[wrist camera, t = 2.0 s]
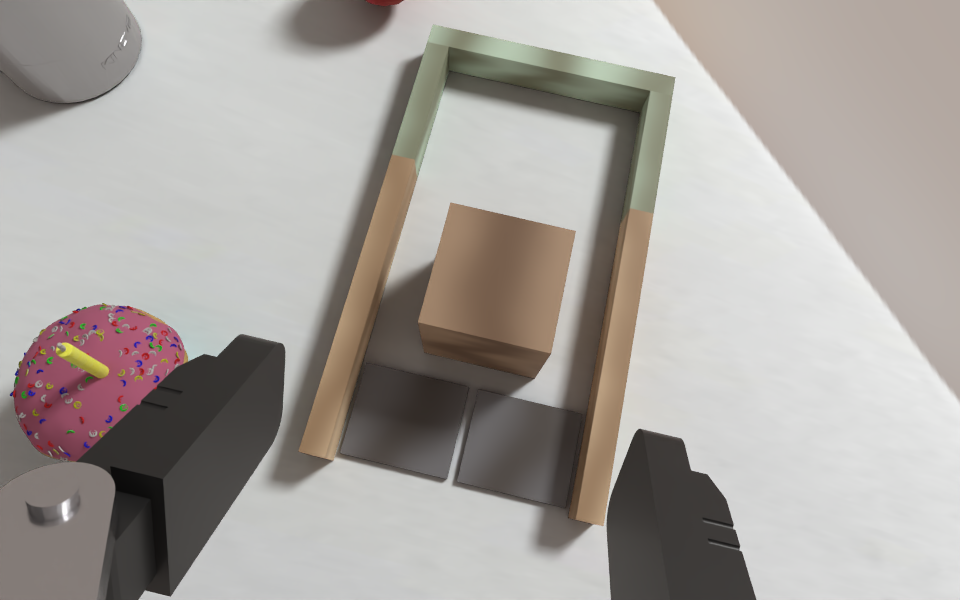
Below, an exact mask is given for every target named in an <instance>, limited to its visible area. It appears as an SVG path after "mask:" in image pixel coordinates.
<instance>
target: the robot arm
mask: <svg viewBox="0 0 960 600" xmlns="http://www.w3.org/2000/svg"><path fill="white" fill-rule="evenodd" d="M141 42H142V37H141V31H140V27H139V25H138V23H137V21H136V19H135V17H134V16H133V14H132V13H131V11H130V10H129V8H128V7H127V5H126V4H125V2H124V1H123V0H0V71H2V72H3V73H5V74H6V75H7V76H8V77H9V78H10V79H11V80H12V81H13V82H14V83H15V84H16V85H17V86H18V87H20V88H21V89H22V90H23V91H25V92H26V93H27V94H29V95H31V96H33V97H35V98H37V99H40V100H44V101H48V102H53V103H72V102H80V101H84V100H87V99H91V98H94V97H97V96H99V95H101V94H103V93H105V92H107V91H109V90H110V89H112V88H113V87H114V86H116V85H117V84H119V83H120V82H121V81H122V80H123V79H124V78H125V77H126V76H127V75H128V74H129V73H130V71H131V70H132V68H133V67H134V65H135V63H136V62H137V59H138V57H139V54H140V51H141ZM284 371H285V348H284V345H283V344H282V343H278V342H273V341H269V340H265V339H261V338H256V337H252V336H248V335H244V334H241V335H239V336H237V337H236V338H235V339H234V340H233V341H232V342H231V343H230V344H229V345H228V346H227V347H226V348H225V349H224V350H223V351H222V352H221V353H220V354H219V355H218V356H217V357H214V356H210V355H206V354H203V355H201V356H199V357H197V358H195V359H193V360H191V361H188V362H186V363H184V364H182V365H180V366H178V367H176V368H175V369H174V370H173V371H172V372H171V373H170V374H169V375H168V376H166V377H165V378H164V379H163V380H162V381H161V382H160V383H159V384H158V385H157V388H156V389H153V390H152V391H151V392H149V393H148V394H147V395H146V396H145V397H144V398H143V399H142V400H141V403H140V405H138V404H137V405H136V406H135V407H134V408H132V409H131V410H130V411H129V412H128V413H127V414H126V415H125V416H124V417H123V418H122V419H121V420H120V421H119V422H118V423H117V424H115V425H114V426H113V427H112V428H111V429H110V430H109V431H108V432H107V433H106V434H105V435H104V436H103V437H102V438H101V439H100V440H99V441H97V442H96V443H95V444H94V445H93V446H92V447H91V448H90V449H89V450H88V451H87V452H86V453H85V454H84V455H83V456H82V457H80V458H79V459H78V460H77V461H76V462H63V463H56V464H51V465H46V466H42V467H39V468H36V469H33V470H31V471H29V472H26V473H24V474H22V475H20V476H18V477H17V478H15V479H13V480H12V481H10V482H9V483H8V484H6V485H5V486H4V487H3V488H2V489H0V600H138V599H139V598H140V597H141V595H142V594H143V592H144V591H145V590H146V591H150V592H154V593H158V594H162V595H166V596H170V597H171V595H172V594H173V592H174V591H175V589H176V588H177V586H178V585H179V583H180V582H181V580H182V579H183V577H184V576H185V574H186V573H187V571H188V570H189V568H190V567H191V565H192V564H193V562H194V561H195V559H196V558H197V556H198V555H199V553H200V552H201V550H202V549H203V547H204V546H205V544H206V543H207V541H208V540H209V538H210V537H211V535H212V534H213V532H214V531H215V529H216V528H217V526H218V525H219V523H220V522H221V520H222V519H223V517H224V516H225V514H226V513H227V511H228V510H229V508H230V507H231V505H232V504H233V502H234V501H235V499H236V498H237V496H238V495H239V493H240V492H241V490H242V489H243V487H244V486H245V484H246V483H247V481H248V480H249V478H250V477H251V475H252V474H253V472H254V471H255V469H256V468H257V466H258V465H259V463H260V462H261V460H262V459H263V457H264V456H265V454H266V453H267V451H268V450H269V448H270V447H271V445H272V443H273V441H274V439H275V437H276V435H277V432H278V429H279V426H280V422H281V418H282V410H283V391H284ZM733 525H734V524H733V521H732V518H731V514H730V511H729V508H728V504H727V501H726V499H725V497H724V496H723V495H722V493H721V492H720V491H719V489H718V488H717V487H716V485H715V484H714V483H713V481H712V480H711V479H710V477H709V476H708V475H707V474H703V473H699V472H695V471H691V469H690V465H689V461H688V457H687V453H686V448H685V445H684V442H683V440H682V439H681V438H677V437H672V436H668V435H664V434H660V433H655V432H651V431H647V430H643V429H638V430H637V431H636V433H635V435H634V437H633V439H632V442H631V444H630V447H629V449H628V452H627V455H626V457H625V460H624V462H623V465H622V468H621V470H620V473H619V475H618V478H617V481H616V483H615V486H614V488H613V491H612V494H611V498H610V502H609V507H608V514H607V542H608V558H609V574H610V590H611V600H756V597H755V594H754V591H753V587H752V584H751V581H750V577H749V574H748V571H747V567H746V564H745V561H744V557H743V554H742V552H741V551H739V548H740V544H739V541H738V537H737V534H736V531H735V530H734V529H733Z"/></svg>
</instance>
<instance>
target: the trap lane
mask: <svg viewBox="0 0 960 600" xmlns="http://www.w3.org/2000/svg"><path fill="white" fill-rule="evenodd" d="M449 71H454V72H458V73H463V74H467V75H472V76H476V77H481V78H485V79H490V80H494V81H499V82H503V83H508V84H513V85H517V86H522V87H526V88H531V89H535V90H540V91H544V92H549V93H553V94H558V95H562V96H567V97H572V98H576V99H581V100H585V101H590V102H594V103H599V104H603V105H608V106H612V107H617V108H621V109H626V110H631V111H635V112H640V116H639V122H638V127H637V133H636V139H635V144H634V150H633V155H632V161H631V167H630V172H629V178H628V184H627V189H626V195H625V200H624V206H623V212H622V217H621V223H620V229H619V234H618V240H617V245H616V251H615V257H614V262H613V268H612V274H611V279H610V285H609V290H608V296H607V302H606V307H605V313H604V318H603V324H602V330H601V335H600V341H599V347H598V352H597V358H596V363H595V369H594V375H593V380H592V386H591V392H590V397H589V403H588V408H587V414H586V420H585V425H584V431H583V437H582V442H581V448H580V453H579V459H578V465H577V470H576V476H575V482H574V487H573V493H572V498H571V504H570V510H569V515H568V518H570V519H574V520H578V521H582V522H586V523H590V524H595V525H601V526H603V525H604V519H605V512H606V506H607V500H608V494H609V487H610V481H611V475H612V469H613V463H614V456H615V450H616V444H617V438H618V431H619V425H620V419H621V413H622V406H623V400H624V394H625V388H626V382H627V375H628V369H629V363H630V357H631V350H632V344H633V338H634V332H635V325H636V319H637V313H638V307H639V301H640V294H641V288H642V282H643V276H644V269H645V263H646V257H647V251H648V245H649V238H650V232H651V226H652V220H653V213H654V207H655V201H656V195H657V188H658V182H659V176H660V170H661V164H662V157H663V151H664V145H665V139H666V132H667V126H668V120H669V114H670V107H671V101H672V95H673V89H674V83H675V77H671V76H667V75H662V74H658V73H653V72H648V71H644V70H639V69H635V68H630V67H626V66H621V65H616V64H612V63H607V62H603V61H598V60H593V59H589V58H584V57H580V56H575V55H570V54H566V53H561V52H557V51H552V50H548V49H543V48H538V47H534V46H529V45H525V44H520V43H515V42H511V41H506V40H502V39H497V38H492V37H488V36H483V35H479V34H474V33H470V32H465V31H460V30H456V29H451V28H447V27H442V26H437V25H433V26H432V29H431V32H430V35H429V39H428V42H427V45H426V48H425V51H424V54H423V58H422V61H421V64H420V67H419V70H418V74H417V77H416V80H415V83H414V86H413V89H412V93H411V96H410V99H409V102H408V105H407V108H406V112H405V115H404V118H403V121H402V124H401V127H400V131H399V134H398V137H397V140H396V143H395V146H394V150H393V153H392V156H391V159H390V162H389V166H388V169H387V172H386V175H385V178H384V181H383V185H382V188H381V191H380V194H379V197H378V200H377V204H376V207H375V210H374V213H373V216H372V219H371V223H370V226H369V229H368V232H367V235H366V239H365V242H364V245H363V248H362V251H361V254H360V258H359V261H358V264H357V267H356V270H355V273H354V277H353V280H352V283H351V286H350V289H349V292H348V296H347V299H346V302H345V305H344V308H343V311H342V315H341V318H340V321H339V324H338V327H337V331H336V334H335V337H334V340H333V343H332V346H331V350H330V353H329V356H328V359H327V362H326V365H325V369H324V372H323V375H322V378H321V381H320V384H319V388H318V391H317V394H316V397H315V400H314V404H313V407H312V410H311V413H310V416H309V419H308V423H307V426H306V429H305V432H304V435H303V438H302V442H301V445H300V448H299V451H298V452H301V453H305V454H308V455H312V456H316V457H320V458H324V459H328V460H332V461H333V460H334V457H335V454H336V450H337V447H338V443H339V440H340V437H341V433H342V430H343V427H344V423H345V420H346V417H347V413H348V410H349V406H350V403H351V400H352V396H353V393H354V390H355V386H356V383H357V379H358V376H359V373H360V369H361V366H362V363H363V359H364V356H365V352H366V349H367V346H368V342H369V339H370V336H371V332H372V329H373V326H374V322H375V319H376V315H377V312H378V309H379V305H380V302H381V299H382V295H383V292H384V288H385V285H386V282H387V278H388V275H389V272H390V268H391V265H392V261H393V258H394V255H395V251H396V248H397V245H398V241H399V238H400V235H401V231H402V228H403V224H404V221H405V218H406V214H407V211H408V208H409V204H410V201H411V197H412V194H413V191H414V187H415V184H416V181H417V177H418V174H419V170H420V167H421V164H422V160H423V157H424V154H425V150H426V147H427V144H428V140H429V137H430V133H431V130H432V127H433V123H434V120H435V117H436V113H437V110H438V106H439V103H440V100H441V96H442V93H443V90H444V86H445V83H446V79H447V76H448V73H449ZM468 389H469V387H467V386H463V385H459V384H454V383H450V382H446V381H442V380H438V379H433V378H429V377H425V376H421V375H417V374H412V373H408V372H404V371H400V370H396V369H391V368H387V367H383V366H379V365H375V364H370V363H366V366H365V370H364V373H363V377H362V380H361V383H360V387H359V390H358V393H357V397H356V400H355V404H354V407H353V410H352V414H351V417H350V421H349V424H348V427H347V431H346V434H345V438H344V441H343V444H342V448H341V451H340V453H341V454H345V455H350V456H354V457H358V458H362V459H366V460H370V461H374V462H378V463H382V464H386V465H391V466H395V467H399V468H403V469H407V470H411V471H415V472H419V473H423V474H428V475H432V476H436V477H440V478H444V479H447V477H448V473H449V469H450V465H451V460H452V456H453V452H454V448H455V444H456V439H457V435H458V431H459V427H460V423H461V419H462V414H463V410H464V406H465V402H466V398H467V394H468ZM581 418H582V414H580V413H576V412H572V411H568V410H564V409H559V408H555V407H551V406H547V405H543V404H538V403H534V402H530V401H526V400H522V399H517V398H513V397H509V396H505V395H501V394H496V393H492V392H488V391H484V390H480V389H479V390H478V394H477V398H476V403H475V407H474V411H473V415H472V420H471V424H470V428H469V432H468V437H467V441H466V445H465V450H464V454H463V458H462V462H461V467H460V471H459V475H458V479H457V482H460V483H465V484H469V485H473V486H477V487H481V488H485V489H489V490H493V491H497V492H501V493H506V494H510V495H514V496H518V497H522V498H526V499H530V500H534V501H538V502H543V503H547V504H551V505H555V506H559V507H563V508H565V507H566V502H567V496H568V491H569V485H570V480H571V474H572V468H573V463H574V457H575V452H576V446H577V441H578V435H579V430H580V424H581Z"/></svg>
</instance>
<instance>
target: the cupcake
mask: <svg viewBox="0 0 960 600" xmlns="http://www.w3.org/2000/svg"><path fill="white" fill-rule="evenodd" d="M102 304H103V305H95V306H91V307H88V308H87V307H84V308H82V309H77V310H76V311H73V313H72V314H70V315H68V316H66V317H64V318H62V319H60V320H58V321H56V322H54V323H52V324H51V325H49V326H48V327H47V328H46V329H43V330H42V331H41V332H40V335H39V336H38V337H36V338H34V339H33V342H34V343H33V344H32V345H31V347H30V348H29V350H28V351H27V353H24V358H23V360H22V361H20V362H19V369H17V372H16V373H15V376H16V379H15V383H14V387H15V388H14V391H13V392H12V393H11V394H10V396H12V395H13V397H14V404H15V411H16V418H17V420H18V422H19V424H20V426H21V428H22V430H23V431H24V433H25V434H26V436H27V437H28V438H29V440H30V441H31V443H32V444H33V446H34V447H35V448H36V449H37V450H38V451H39V452H41V453H42V454H44V455H46V456H48V457H51V458H55V459H60V460H61V461H62V462H66V461H71V462H76V461H77V460H78V459H79V458H80V457H82V456H83V455H84V454H85V453H86V452H87V451H88V450H89V449H90V448H91V447H92V446H93V445H94V444H95V443H96V442H97V441H99V440H100V439H101V438H102V437H103V436H104V435H105V434H106V433H107V432H108V431H109V430H110V429H111V428H112V427H113V426H114V425H115V424H117V423H118V422H119V421H120V420H121V419H122V418H123V417H124V416H125V415H126V414H127V413H128V412H129V411H130V410H131V409H132V408H134V407H135V406H136V405H137V404H138V405H140V403H141V400H142V399H143V398H144V397H145V396H146V395H147V394H148V393H149V392H151V391H152V390H153V389H156V388H157V385H158V384H159V383H160V382H161V381H162V380H163V379H164V378H165V377H166V376H168V375H169V374H170V373H171V372H172V371H173V370H174V369H175V368H176V367H178V366H180V365H182V364H184V363H186V362H188V356H187V353H186V351H185V349H184V346H183V343H182V341H181V339H180V337H179V335H178V334H177V333H176V331H175V330H174V329H173V328H171V327H170V326H168V325H167V324H165V323H164V322H163V321H162V320H160V319H158V318H156V317H154V316H152V315H150V314H148V313H146V312H144V311H142V310H139V309H136V308H133V307H130V306H115V305H112V306H110V305H106V304H104V303H102ZM78 310H79V311H78ZM20 363H21V364H20ZM17 373H18V374H17Z"/></svg>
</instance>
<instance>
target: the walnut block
mask: <svg viewBox="0 0 960 600" xmlns="http://www.w3.org/2000/svg"><path fill="white" fill-rule="evenodd" d="M575 232H576V231H573V230H568V229H564V228H560V227H555V226H551V225H547V224H542V223H538V222H533V221H529V220H525V219H520V218H516V217H512V216H507V215H503V214H498V213H494V212H490V211H485V210H481V209H477V208H472V207H468V206H463V205H459V204H455V203H450V207H449V210H448V214H447V218H446V221H445V225H444V229H443V232H442V236H441V240H440V243H439V247H438V251H437V254H436V258H435V261H434V265H433V269H432V272H431V276H430V280H429V283H428V287H427V291H426V294H425V298H424V301H423V305H422V309H421V312H420V316H419V320H418V325H419V330H420V335H421V340H422V345H423V349H424V353H428V354H433V355H437V356H441V357H445V358H449V359H454V360H458V361H462V362H466V363H471V364H475V365H479V366H483V367H487V368H492V369H496V370H500V371H504V372H509V373H513V374H517V375H521V376H525V377H530V378H534V379H535V377H536V376H537V374H538V373H539V371H540V370H541V368H542V367H543V365H544V363H545V362H546V360H547V359H548V357H549V356H550V354H551V351H552V346H553V341H554V336H555V331H556V326H557V321H558V316H559V311H560V306H561V301H562V297H563V292H564V287H565V282H566V277H567V272H568V267H569V262H570V257H571V252H572V247H573V242H574V237H575Z"/></svg>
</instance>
